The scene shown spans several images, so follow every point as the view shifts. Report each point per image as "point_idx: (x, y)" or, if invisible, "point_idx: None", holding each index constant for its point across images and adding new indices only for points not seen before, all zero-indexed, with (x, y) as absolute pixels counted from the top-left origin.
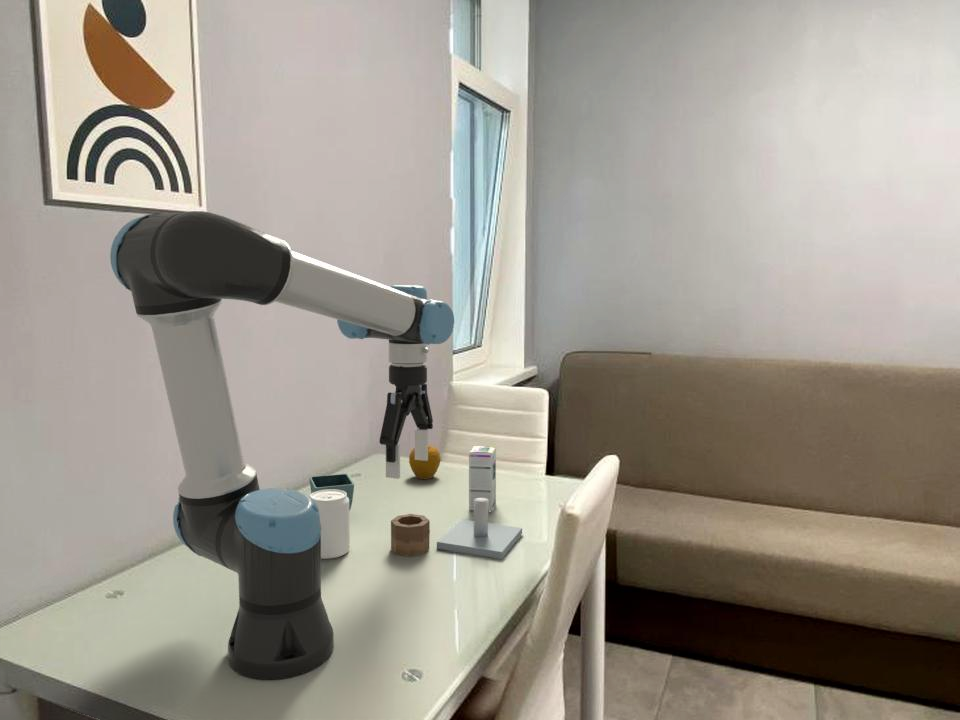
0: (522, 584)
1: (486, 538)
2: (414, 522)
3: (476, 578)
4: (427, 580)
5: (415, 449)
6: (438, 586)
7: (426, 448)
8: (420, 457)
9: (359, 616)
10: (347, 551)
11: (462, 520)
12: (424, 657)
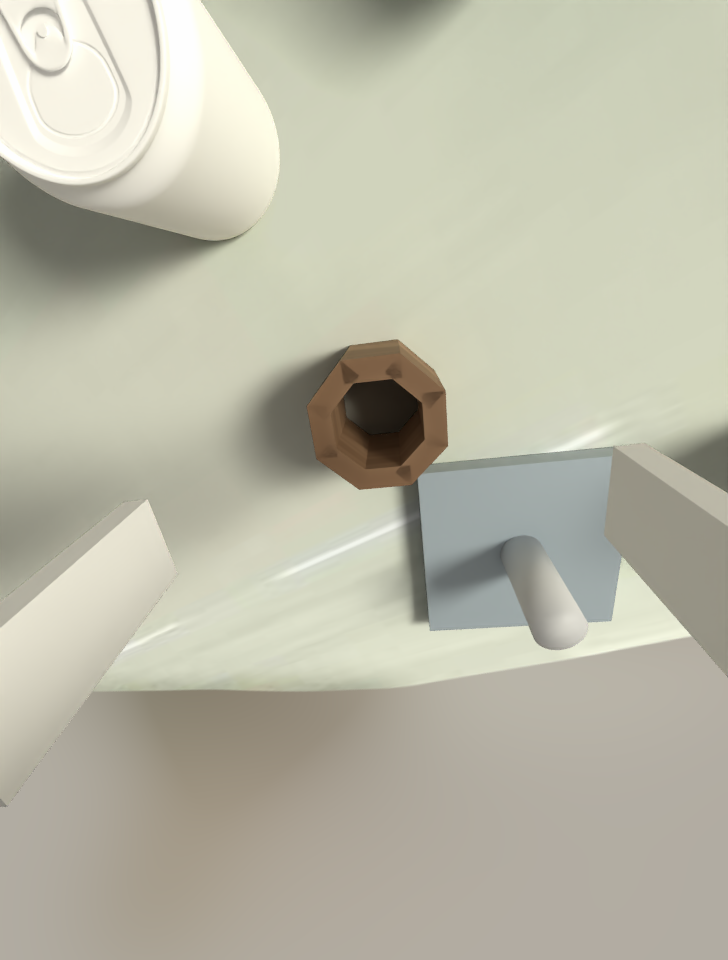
0: (334, 679)
1: (499, 574)
2: (421, 411)
3: (310, 608)
4: (240, 531)
5: (663, 491)
6: (231, 563)
7: (661, 598)
8: (620, 502)
9: (22, 495)
10: (228, 238)
11: None
12: None
